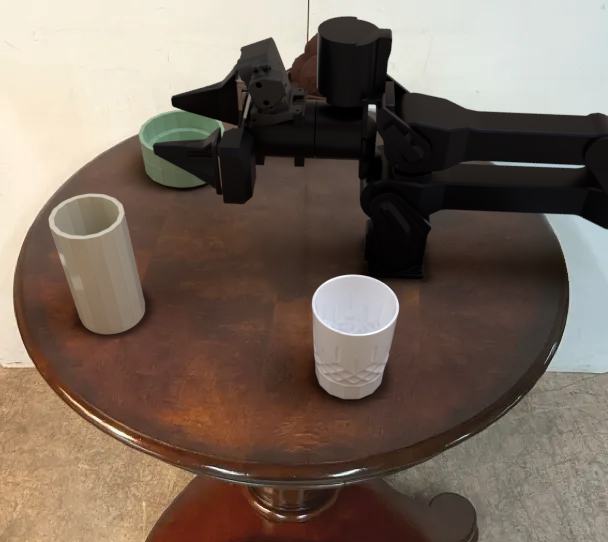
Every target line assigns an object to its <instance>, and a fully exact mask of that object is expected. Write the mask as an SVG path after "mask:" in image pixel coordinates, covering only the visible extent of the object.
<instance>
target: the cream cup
mask: <svg viewBox="0 0 608 542" xmlns="http://www.w3.org/2000/svg"><path fill="white" fill-rule="evenodd" d="M48 225H49V229H50V232H51V235H52V239H53V242H54V244H55V247H56V251H57V254H58V257H59V260H60V263H61V265H62V268H63V272H64V273H65V274H64V275H65V278H66V282H67V284H68V286H69V290H70V293H71V296H72V299H73V302H74V304H75V308H76V311H77V314H78V317H79V319H80V322H81V323H82V325H83V327H85V328H86V329H87V330H89V331H90V332H92V333H95V334H99V335H115V334H120V333H123V332H126V331H128V330H130V329H133V328H134V327H135V326H137V324H139V322H141V320H142V319H143V317H144V316H145V312H146V302H145V297H144V293H143V289H142V284H141V280H140V275H139V271H138V270H139V269H138V266H137V262H136V258H135V253H134V248H133V244H132V240H131V235H130V231H129V227H128V222H127V218H126V212H125V209H124V205H123V203H121V202H120V201H119V200H118V199H117V198H115V197H113V196H110V195H107V194H103V193H84V194H79V195H75V196H72V197H70V198H68V199H65V200H63V201H62V202H60V203H58V205H56V206H55V207H54V208H53V209H52V210H51V212H50V214H49V217H48Z"/></svg>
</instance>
